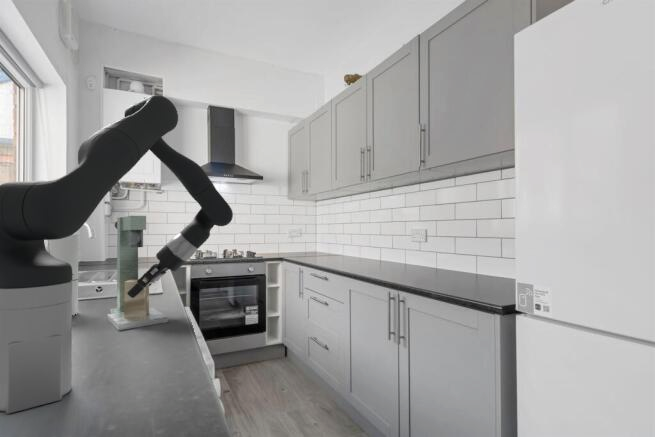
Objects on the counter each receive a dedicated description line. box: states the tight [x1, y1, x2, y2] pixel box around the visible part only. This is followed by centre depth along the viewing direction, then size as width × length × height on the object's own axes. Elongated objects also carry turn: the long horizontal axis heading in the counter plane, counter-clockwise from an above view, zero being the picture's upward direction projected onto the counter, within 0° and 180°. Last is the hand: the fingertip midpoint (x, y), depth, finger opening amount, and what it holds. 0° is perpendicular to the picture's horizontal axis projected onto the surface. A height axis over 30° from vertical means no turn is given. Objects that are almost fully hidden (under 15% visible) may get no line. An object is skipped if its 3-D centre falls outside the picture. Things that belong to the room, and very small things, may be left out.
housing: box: [125, 278, 150, 318], centre depth 100 cm, size 5×5×10 cm
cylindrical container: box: [49, 234, 79, 316], centre depth 109 cm, size 7×7×25 cm
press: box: [107, 215, 169, 332], centre depth 106 cm, size 33×12×30 cm, turn 41°
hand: (135, 293), depth 100 cm, fingers open, 8 cm apart
